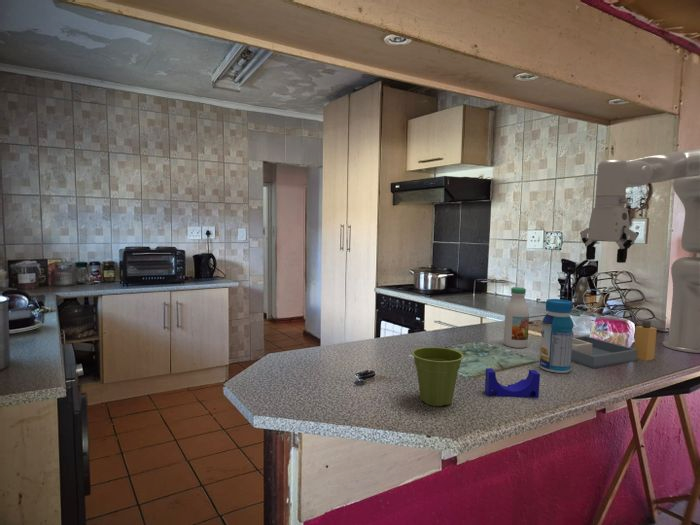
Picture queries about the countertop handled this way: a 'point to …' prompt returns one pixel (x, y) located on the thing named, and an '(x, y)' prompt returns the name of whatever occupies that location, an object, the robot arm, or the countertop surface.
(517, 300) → the milk bottle
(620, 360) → the walled box
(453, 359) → the plant pot
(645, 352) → the orange square bottle
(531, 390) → the blue u-shaped cradle
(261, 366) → the countertop surface
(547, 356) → the beverage bottle
